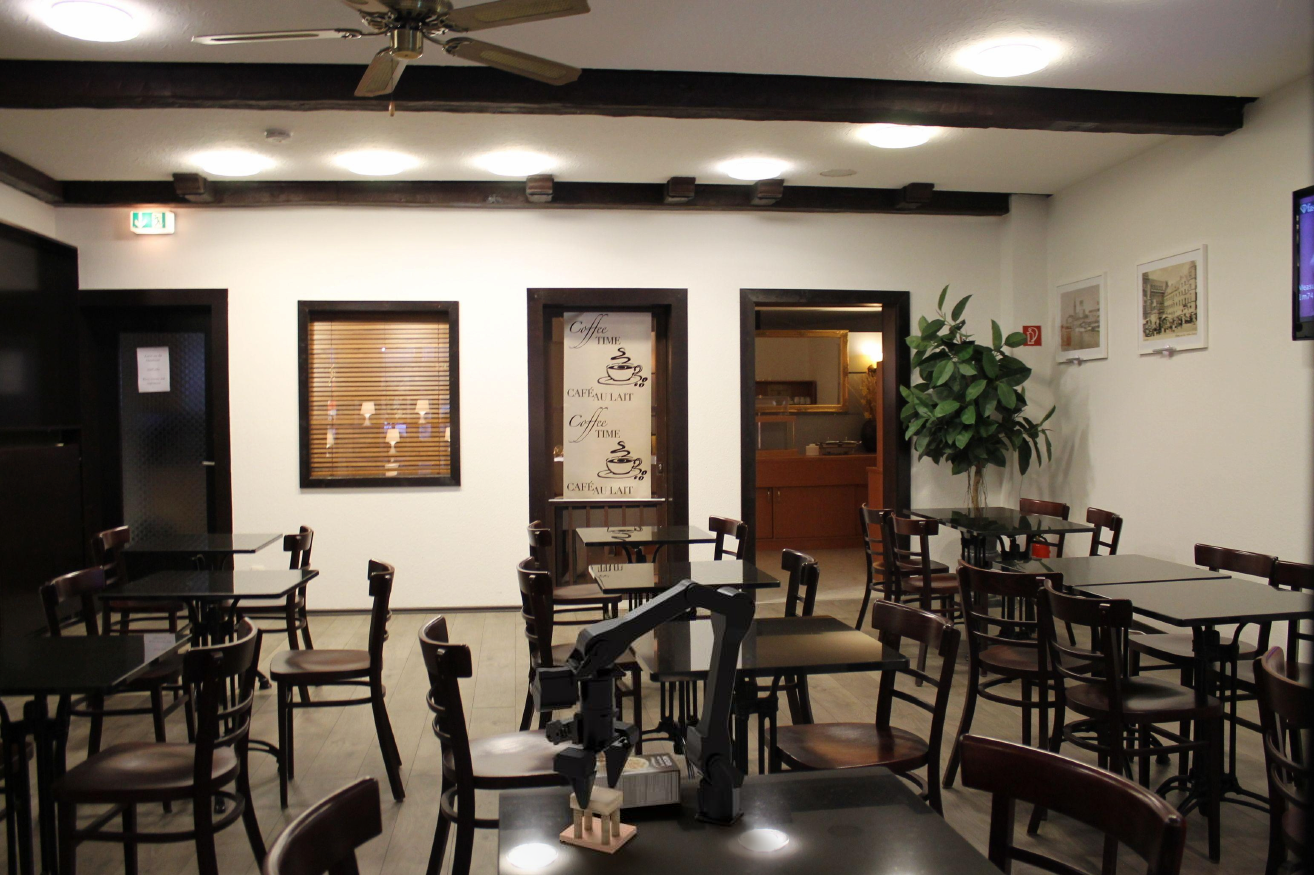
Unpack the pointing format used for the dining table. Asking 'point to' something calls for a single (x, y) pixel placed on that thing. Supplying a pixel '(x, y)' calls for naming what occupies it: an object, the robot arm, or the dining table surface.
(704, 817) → the robot arm
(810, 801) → the dining table surface
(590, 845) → the terracotta tile
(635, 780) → the coffee box
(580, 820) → the oak stool
